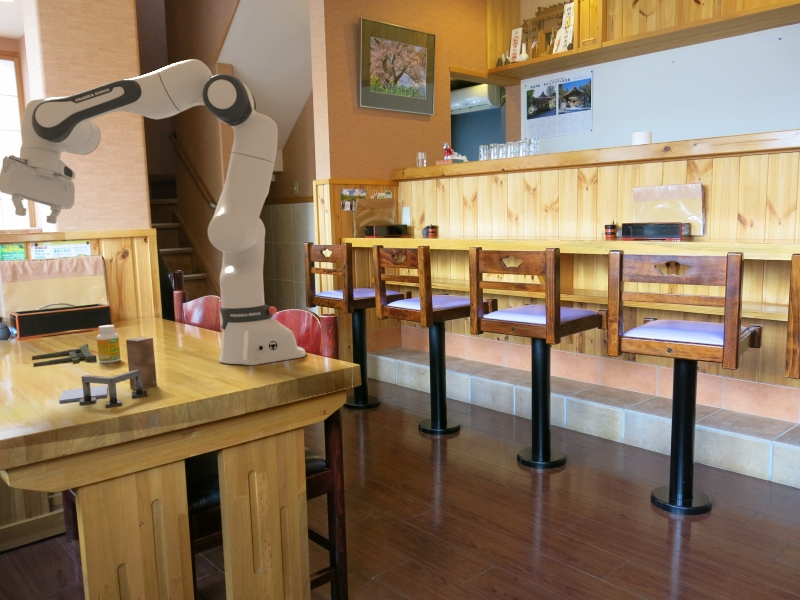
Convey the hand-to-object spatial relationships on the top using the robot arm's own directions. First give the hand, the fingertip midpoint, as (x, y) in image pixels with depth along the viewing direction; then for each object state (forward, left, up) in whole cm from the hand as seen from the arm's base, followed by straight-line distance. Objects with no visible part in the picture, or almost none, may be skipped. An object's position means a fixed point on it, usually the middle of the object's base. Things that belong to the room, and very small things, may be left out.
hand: (36, 219), depth 163 cm
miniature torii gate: (-1, -18, -40) cm, 43 cm away
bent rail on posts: (-15, +40, -39) cm, 58 cm away
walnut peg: (-21, +30, -39) cm, 53 cm away
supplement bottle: (-13, -6, -39) cm, 42 cm away
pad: (-9, +31, -39) cm, 51 cm away
